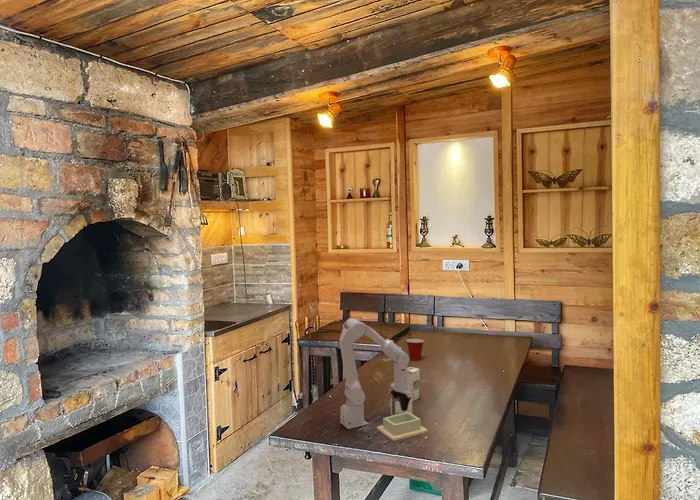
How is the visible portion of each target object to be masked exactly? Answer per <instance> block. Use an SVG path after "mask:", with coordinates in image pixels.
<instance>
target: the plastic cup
mask: <svg viewBox="0 0 700 500" xmlns="http://www.w3.org/2000/svg"><path fill="white" fill-rule="evenodd" d="M405 341H406V344H407V349H408V356H409V358H410V360H411V361H414V362H419V361H420V360H421V357H422V356H421V355H422V350H423V346H424V342H425V340H424V339H420V338H409V339H406V340H405Z"/></svg>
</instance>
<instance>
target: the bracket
mask: <svg viewBox="0 0 700 500" xmlns="http://www.w3.org/2000/svg"><path fill="white" fill-rule="evenodd" d="M407 412H410V413H411V414H413V401H412V398H411V399H410V401H409V404H408V409H407V411H402V407H401V401H400V398H399V397H394V398H393V397H390V416H394V415H398V414H402V413H407Z"/></svg>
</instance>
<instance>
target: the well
mask: <svg viewBox="0 0 700 500" xmlns="http://www.w3.org/2000/svg"><path fill="white" fill-rule="evenodd" d="M376 430H378V431H379V432H381V433H382V434H383V435H385V436H386V438H388V439H390V440H391V441H393V442H395V441H399V440H402V439H408V438H412V437H415V436H420V435H423V434H426V433H428V432H429V431H428V429H427V428H426V427H424V426H422V419H421V418H420V417H418V416H416V415H415V414H413V413H412V414H411V413H410V412H407V413H402V414H398V415H394V416H391V415H390V416H386V417H383V418H382V425H378V426H376Z"/></svg>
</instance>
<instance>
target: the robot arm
mask: <svg viewBox="0 0 700 500" xmlns="http://www.w3.org/2000/svg"><path fill="white" fill-rule="evenodd" d="M362 336H363V337H368V338H370V339H371V340H372V341H374V342H375V343H376V344H377V345H379V348H380V351H381V352H383V353H384V354H385V355H386V356H387V357H389V358H390V359H391V361H393V375H394V376H393V379H394V380H393V381H394V382H393V383H390V388H391V389H392V390H391V391H390V394H391V395H392V398H394V397H399V398H400V401H401V407H402V411H407V409H408V404H409V401H410V399H411V398H412V392H411V391H410V390H409V389H410V387H409V386H408V377H407V368H408V364H409V362H410V360H411V359H410V355H409V353H408V352H405V351H404V350H403V348H402V347H401V346H398V345H397V344H396V343H395V341H394V340H393V339H391V340H390V339H388V338H387V339H385V338H383V337H382V336H381V335H380V334H379V333H378V332H377V331H376V330H374V329H373V328H372V327H370V326H368V325H367V324H365V323H364V322H362V321H360V320H359V319H357V318H355V317H350V318H348V319H346V321H344V323H343V324H342V330H341V334H340V335H339V340H338V343H339V349H340V353H341V359H342V365H343V369H344V375H345V383H344V385H345V388H344V396H345V398H346V403H344V404H342V405H340V407H339V408H340V410H339V411H340V421H339V423H340V424H341V425H343V426H344V427H345V428H346V429H348V430H349V429H350V430H351V429H354V428H358V427H362V426H368V424H369V423H368V422H367V421H365V413H364V411H365V409H364V405H365V404H364V402H365V401H366V395H365V394H366V393H365V392H364V390H363V389H362V385H361V383H360V381H359V375H358V370H357V365H356V364H357V363H356V358H355V353H354V352H355V351H354V346H353V345H354V343H355V342H356V341H357V340H359V339H360V338H361V337H362Z"/></svg>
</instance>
